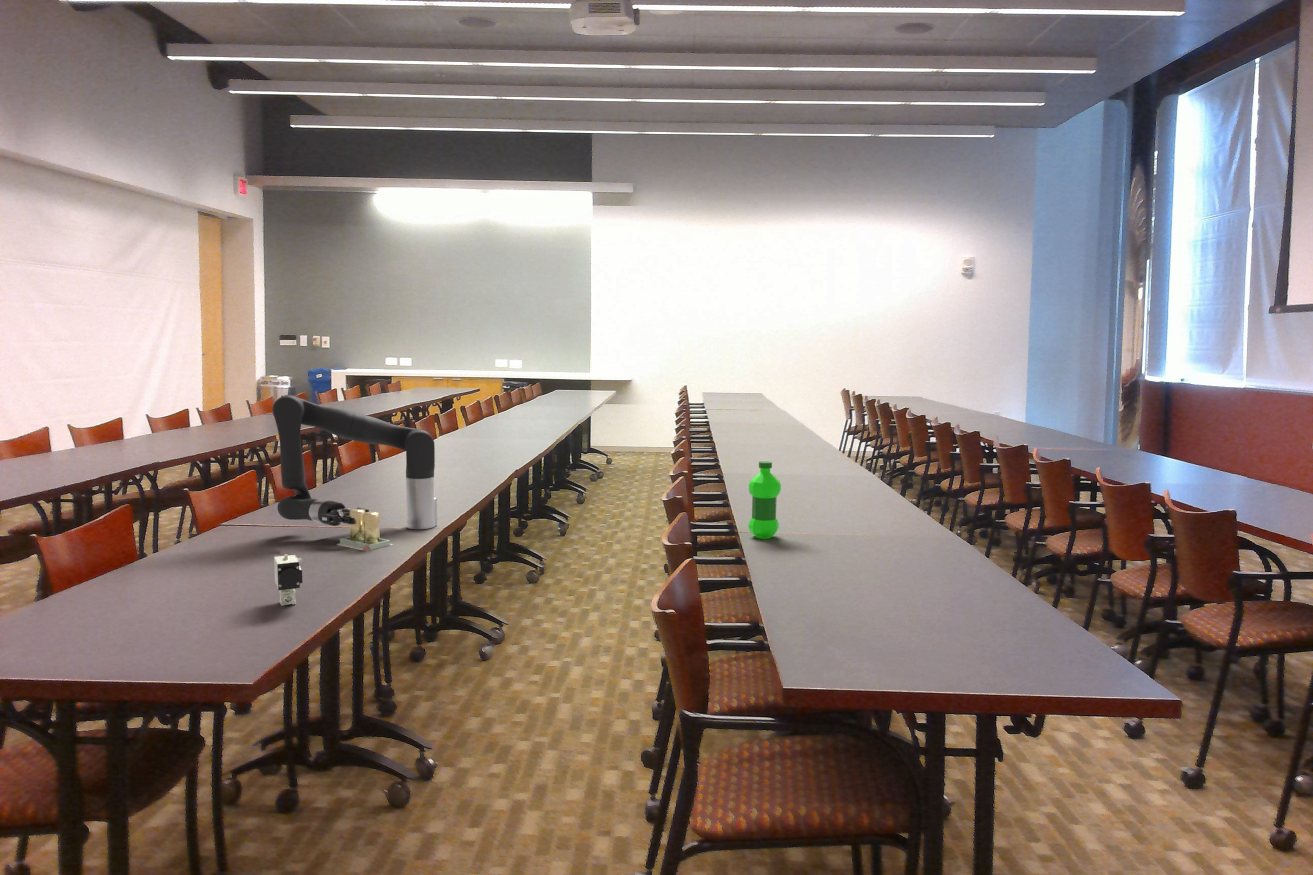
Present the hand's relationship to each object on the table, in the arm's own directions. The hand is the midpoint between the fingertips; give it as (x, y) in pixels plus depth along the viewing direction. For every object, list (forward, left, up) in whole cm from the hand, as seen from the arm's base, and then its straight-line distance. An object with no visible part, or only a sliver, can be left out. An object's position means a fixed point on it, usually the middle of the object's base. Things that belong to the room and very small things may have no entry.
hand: (362, 518), depth 259 cm
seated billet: (0, +4, -8) cm, 9 cm away
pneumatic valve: (+46, +30, -9) cm, 56 cm away
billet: (0, -2, -8) cm, 8 cm away
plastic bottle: (-86, +93, -9) cm, 127 cm away
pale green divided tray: (0, +1, -9) cm, 9 cm away
